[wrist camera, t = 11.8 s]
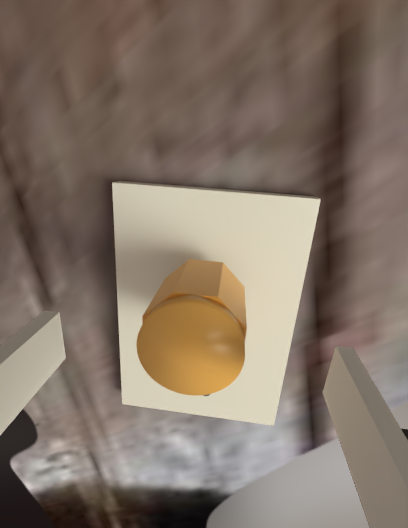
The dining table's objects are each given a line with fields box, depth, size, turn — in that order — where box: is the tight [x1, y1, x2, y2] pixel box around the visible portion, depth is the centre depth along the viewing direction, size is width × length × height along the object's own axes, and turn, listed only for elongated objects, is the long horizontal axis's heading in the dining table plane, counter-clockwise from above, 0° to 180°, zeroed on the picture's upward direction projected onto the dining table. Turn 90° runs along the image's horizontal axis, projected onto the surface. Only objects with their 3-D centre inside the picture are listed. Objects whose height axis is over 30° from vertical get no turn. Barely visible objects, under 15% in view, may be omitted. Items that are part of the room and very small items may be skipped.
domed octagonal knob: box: [136, 259, 247, 396], centre depth 17 cm, size 5×5×6 cm
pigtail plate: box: [112, 181, 321, 426], centre depth 20 cm, size 20×14×8 cm
